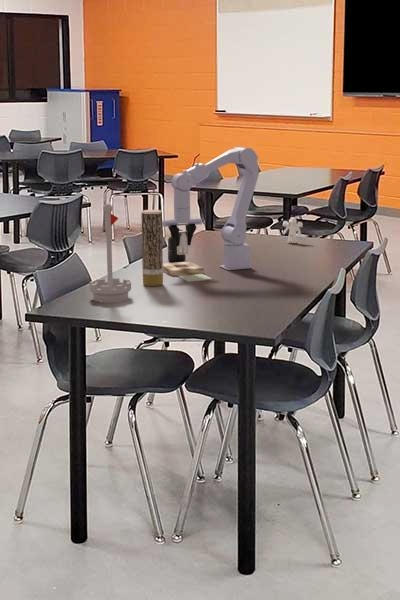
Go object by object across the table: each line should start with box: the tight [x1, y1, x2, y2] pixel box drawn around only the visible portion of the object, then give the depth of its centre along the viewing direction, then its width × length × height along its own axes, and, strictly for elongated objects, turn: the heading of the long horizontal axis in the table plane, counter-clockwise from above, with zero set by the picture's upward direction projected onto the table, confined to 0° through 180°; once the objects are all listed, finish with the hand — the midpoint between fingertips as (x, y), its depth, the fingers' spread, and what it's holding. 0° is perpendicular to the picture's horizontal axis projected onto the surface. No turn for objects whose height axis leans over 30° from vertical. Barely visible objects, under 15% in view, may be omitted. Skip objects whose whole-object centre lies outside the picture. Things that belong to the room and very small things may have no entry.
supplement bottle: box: [167, 229, 187, 263], centre depth 344 cm, size 7×7×12 cm
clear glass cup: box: [177, 230, 189, 256], centre depth 321 cm, size 4×4×8 cm
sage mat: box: [178, 273, 213, 283], centre depth 312 cm, size 9×9×1 cm
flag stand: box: [89, 203, 132, 303], centre depth 280 cm, size 13×13×30 cm
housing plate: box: [163, 261, 205, 277], centre depth 325 cm, size 12×14×2 cm
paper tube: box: [140, 209, 164, 287], centre depth 300 cm, size 7×7×25 cm
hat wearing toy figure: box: [282, 214, 303, 242], centre depth 383 cm, size 9×4×12 cm, turn 63°
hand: (182, 245), depth 321 cm, fingers closed on clear glass cup, 4 cm apart
